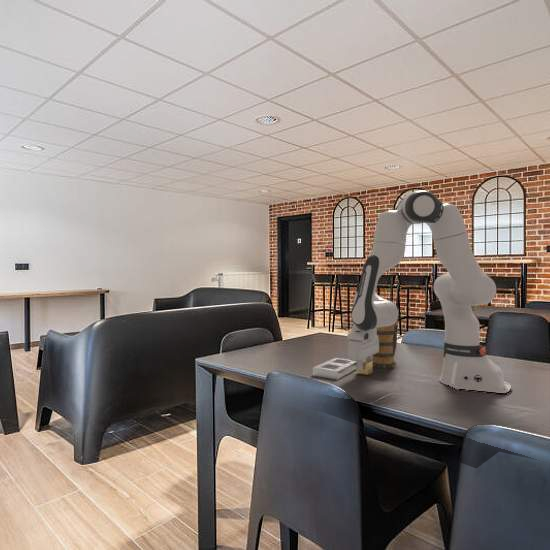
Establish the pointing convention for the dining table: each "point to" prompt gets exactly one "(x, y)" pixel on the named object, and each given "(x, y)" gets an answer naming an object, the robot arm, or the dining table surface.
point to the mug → (386, 347)
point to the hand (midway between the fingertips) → (364, 368)
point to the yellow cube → (366, 367)
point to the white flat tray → (335, 368)
